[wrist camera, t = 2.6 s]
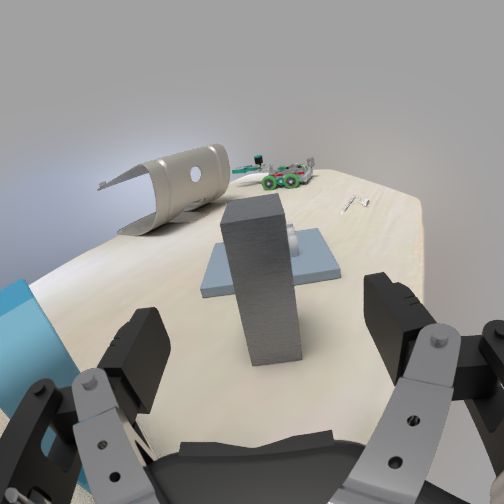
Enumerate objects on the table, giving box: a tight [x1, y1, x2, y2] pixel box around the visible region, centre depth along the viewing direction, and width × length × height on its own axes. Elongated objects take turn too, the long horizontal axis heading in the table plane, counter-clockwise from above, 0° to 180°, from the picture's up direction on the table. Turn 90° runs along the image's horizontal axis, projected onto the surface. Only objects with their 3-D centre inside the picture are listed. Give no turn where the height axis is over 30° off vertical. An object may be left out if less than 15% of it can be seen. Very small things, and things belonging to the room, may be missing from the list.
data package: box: [0, 279, 92, 494], centre depth 15 cm, size 12×4×12 cm, turn 52°
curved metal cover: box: [98, 144, 230, 236], centre depth 71 cm, size 26×24×16 cm
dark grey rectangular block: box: [220, 193, 302, 366], centre depth 24 cm, size 4×6×12 cm, turn 0°
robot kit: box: [232, 155, 314, 190], centre depth 89 cm, size 19×25×9 cm
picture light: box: [341, 195, 369, 214], centre depth 58 cm, size 14×4×2 cm, turn 151°
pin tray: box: [200, 222, 341, 298], centre depth 40 cm, size 16×14×4 cm
